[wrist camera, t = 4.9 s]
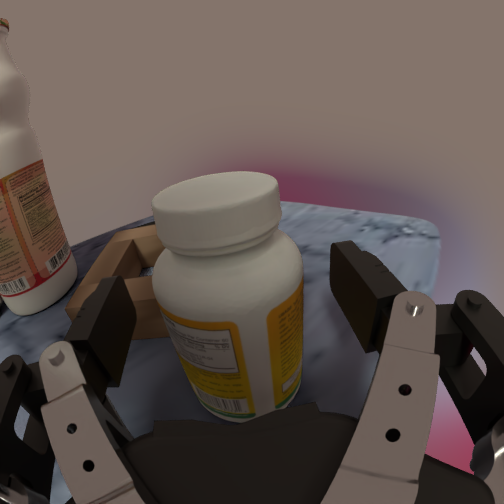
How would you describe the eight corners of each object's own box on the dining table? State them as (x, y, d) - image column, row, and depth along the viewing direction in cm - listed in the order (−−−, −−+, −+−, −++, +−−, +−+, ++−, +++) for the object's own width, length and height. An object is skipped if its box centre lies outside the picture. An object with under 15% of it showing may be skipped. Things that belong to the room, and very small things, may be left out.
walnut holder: (84, 342, 16) (64, 308, 15) (124, 258, 27) (116, 232, 25) (258, 324, 17) (252, 284, 15) (241, 239, 27) (237, 210, 26)
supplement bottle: (209, 439, 10) (115, 240, 6) (188, 358, 15) (133, 188, 10) (321, 400, 11) (336, 190, 7) (278, 331, 16) (262, 160, 11)
